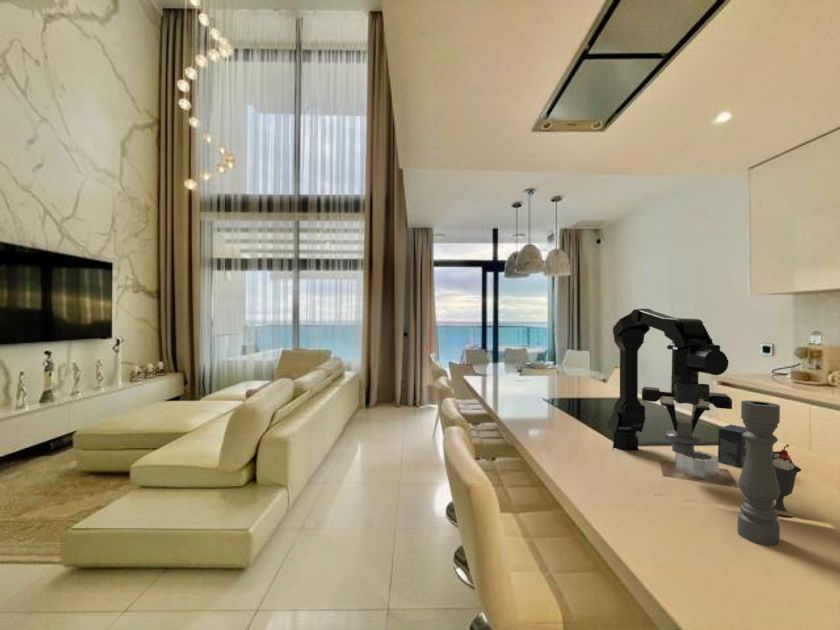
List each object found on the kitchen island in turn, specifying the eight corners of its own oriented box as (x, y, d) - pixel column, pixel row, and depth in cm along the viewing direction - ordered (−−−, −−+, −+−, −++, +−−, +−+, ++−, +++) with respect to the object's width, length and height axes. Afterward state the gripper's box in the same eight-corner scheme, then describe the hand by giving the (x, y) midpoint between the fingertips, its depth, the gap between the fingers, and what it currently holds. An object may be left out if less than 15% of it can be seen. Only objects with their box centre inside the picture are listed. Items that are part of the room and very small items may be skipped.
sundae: (791, 522, 87) (792, 448, 87) (753, 509, 93) (754, 439, 93) (807, 516, 90) (808, 444, 90) (769, 503, 96) (770, 436, 96)
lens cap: (665, 453, 105) (666, 421, 105) (663, 444, 112) (664, 414, 112) (704, 459, 101) (705, 426, 101) (699, 449, 109) (700, 418, 109)
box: (740, 471, 116) (741, 432, 116) (717, 464, 121) (717, 427, 121) (752, 466, 121) (753, 428, 121) (729, 460, 125) (729, 423, 125)
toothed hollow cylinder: (677, 475, 110) (677, 457, 110) (674, 464, 118) (674, 448, 118) (720, 481, 106) (721, 463, 106) (714, 470, 114) (714, 453, 114)
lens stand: (662, 479, 109) (662, 475, 109) (659, 462, 122) (659, 459, 122) (740, 491, 102) (740, 487, 102) (727, 472, 115) (727, 469, 115)
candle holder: (729, 529, 83) (731, 400, 84) (759, 528, 84) (761, 400, 84) (756, 546, 77) (759, 407, 77) (788, 545, 78) (791, 407, 78)
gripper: (643, 369, 104) (641, 434, 104) (737, 376, 95) (736, 446, 95) (642, 365, 114) (641, 424, 114) (728, 370, 105) (726, 434, 105)
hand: (683, 431), depth 107 cm, fingers closed on lens cap, 3 cm apart
